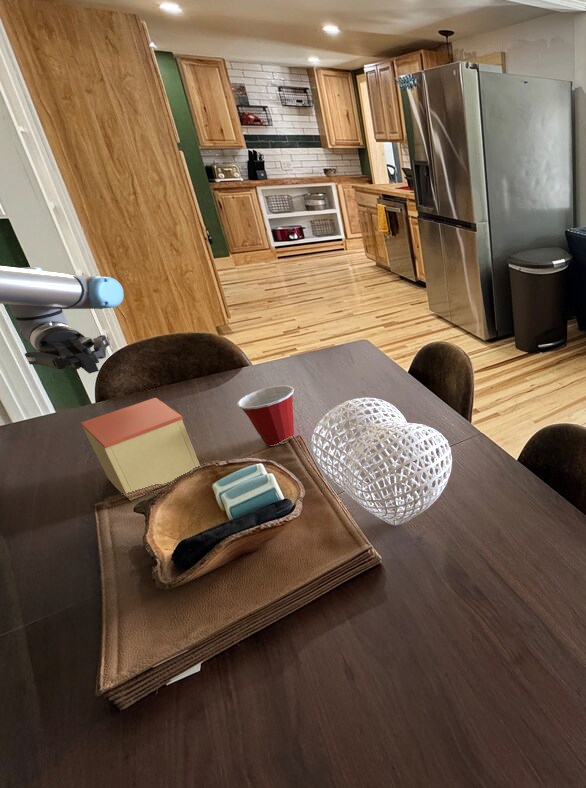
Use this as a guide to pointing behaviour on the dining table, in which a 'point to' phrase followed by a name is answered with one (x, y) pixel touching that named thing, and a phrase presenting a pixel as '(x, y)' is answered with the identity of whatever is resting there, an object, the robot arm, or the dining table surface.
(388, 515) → the heart
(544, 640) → the dining table surface
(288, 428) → the plastic cup
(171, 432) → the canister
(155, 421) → the lid
